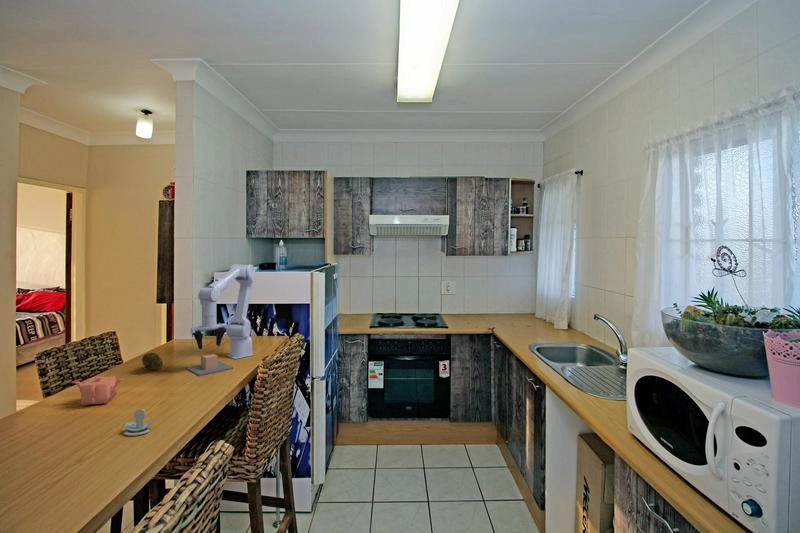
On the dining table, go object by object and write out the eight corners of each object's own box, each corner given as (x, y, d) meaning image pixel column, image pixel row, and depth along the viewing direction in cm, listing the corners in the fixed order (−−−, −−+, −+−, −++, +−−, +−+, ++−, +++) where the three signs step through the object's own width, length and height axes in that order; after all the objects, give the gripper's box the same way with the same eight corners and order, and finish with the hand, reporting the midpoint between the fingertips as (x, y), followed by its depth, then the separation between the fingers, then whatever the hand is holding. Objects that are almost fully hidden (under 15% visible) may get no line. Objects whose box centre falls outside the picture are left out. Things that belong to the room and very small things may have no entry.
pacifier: (147, 436, 114) (156, 426, 120) (146, 415, 113) (156, 406, 119) (118, 438, 113) (129, 427, 119) (117, 416, 112) (129, 407, 118)
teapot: (118, 405, 134) (118, 381, 134) (64, 410, 130) (63, 384, 129) (130, 393, 146) (130, 370, 145) (81, 397, 141) (80, 373, 141)
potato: (170, 365, 179) (170, 347, 179) (156, 374, 166) (155, 355, 166) (150, 365, 178) (150, 347, 178) (134, 374, 165) (134, 355, 165)
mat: (218, 362, 185) (218, 360, 185) (233, 368, 176) (233, 367, 175) (185, 368, 174) (185, 367, 174) (199, 376, 165) (199, 374, 165)
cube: (212, 364, 179) (212, 353, 178) (217, 367, 175) (217, 355, 175) (200, 367, 175) (200, 355, 175) (205, 369, 172) (205, 358, 171)
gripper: (221, 312, 182) (221, 342, 183) (187, 316, 171) (187, 348, 172) (229, 314, 177) (229, 345, 178) (194, 318, 167) (194, 351, 167)
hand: (209, 347), depth 175 cm, fingers open, 7 cm apart
